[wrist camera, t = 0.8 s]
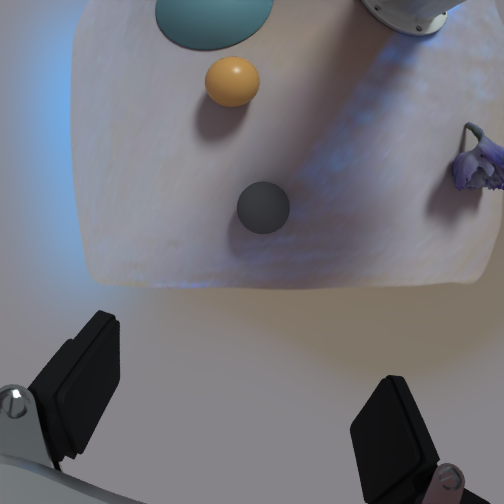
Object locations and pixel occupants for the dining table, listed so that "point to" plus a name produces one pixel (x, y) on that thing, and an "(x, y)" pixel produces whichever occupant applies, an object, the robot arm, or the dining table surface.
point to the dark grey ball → (263, 207)
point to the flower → (480, 164)
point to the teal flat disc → (211, 21)
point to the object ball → (232, 81)
